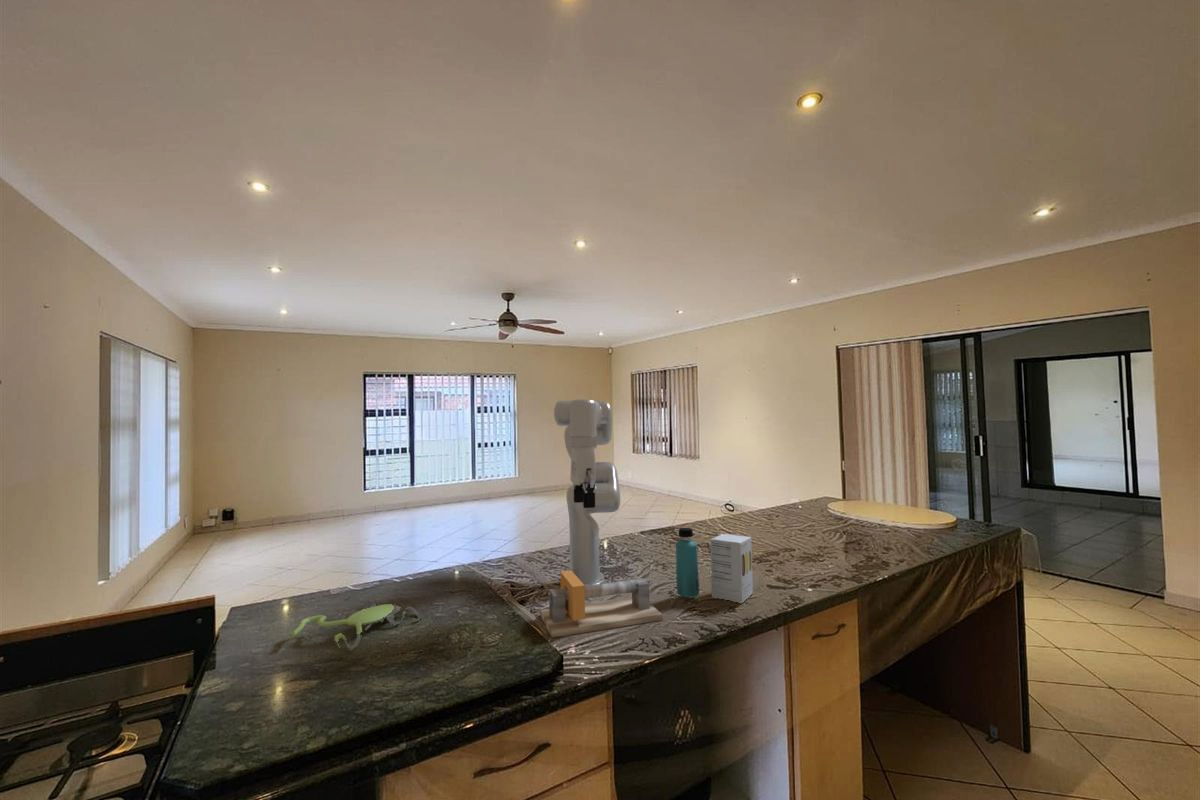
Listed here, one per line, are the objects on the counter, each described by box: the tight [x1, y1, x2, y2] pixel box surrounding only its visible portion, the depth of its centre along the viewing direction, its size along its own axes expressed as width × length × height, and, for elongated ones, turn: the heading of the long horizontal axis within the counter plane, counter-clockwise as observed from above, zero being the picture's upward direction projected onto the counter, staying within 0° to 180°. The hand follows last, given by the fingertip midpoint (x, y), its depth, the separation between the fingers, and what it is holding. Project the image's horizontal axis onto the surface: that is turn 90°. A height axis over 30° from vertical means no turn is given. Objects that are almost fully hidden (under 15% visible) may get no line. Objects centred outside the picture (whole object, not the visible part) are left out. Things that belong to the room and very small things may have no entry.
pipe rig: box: [539, 577, 663, 639], centre depth 120 cm, size 14×29×9 cm, turn 108°
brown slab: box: [559, 569, 586, 621], centre depth 118 cm, size 13×3×8 cm, turn 18°
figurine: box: [291, 603, 394, 643], centre depth 114 cm, size 18×27×6 cm
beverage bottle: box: [675, 527, 700, 598], centre depth 133 cm, size 6×7×20 cm
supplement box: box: [709, 533, 754, 604], centre depth 134 cm, size 10×9×17 cm
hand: (584, 504), depth 128 cm, fingers open, 9 cm apart
